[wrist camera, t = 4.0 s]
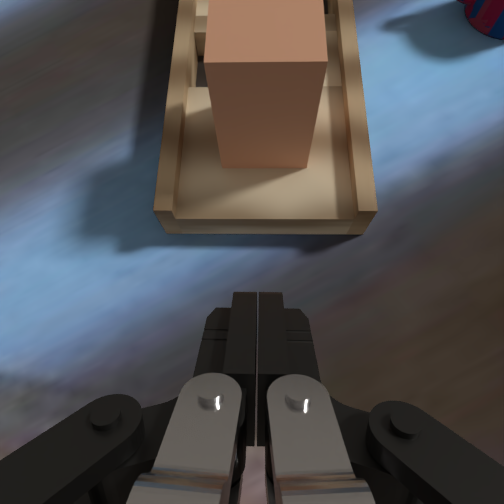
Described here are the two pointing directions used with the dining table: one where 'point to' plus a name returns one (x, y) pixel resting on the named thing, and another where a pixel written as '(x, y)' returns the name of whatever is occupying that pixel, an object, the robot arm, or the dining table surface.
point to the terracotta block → (265, 79)
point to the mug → (486, 16)
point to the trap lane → (265, 179)
